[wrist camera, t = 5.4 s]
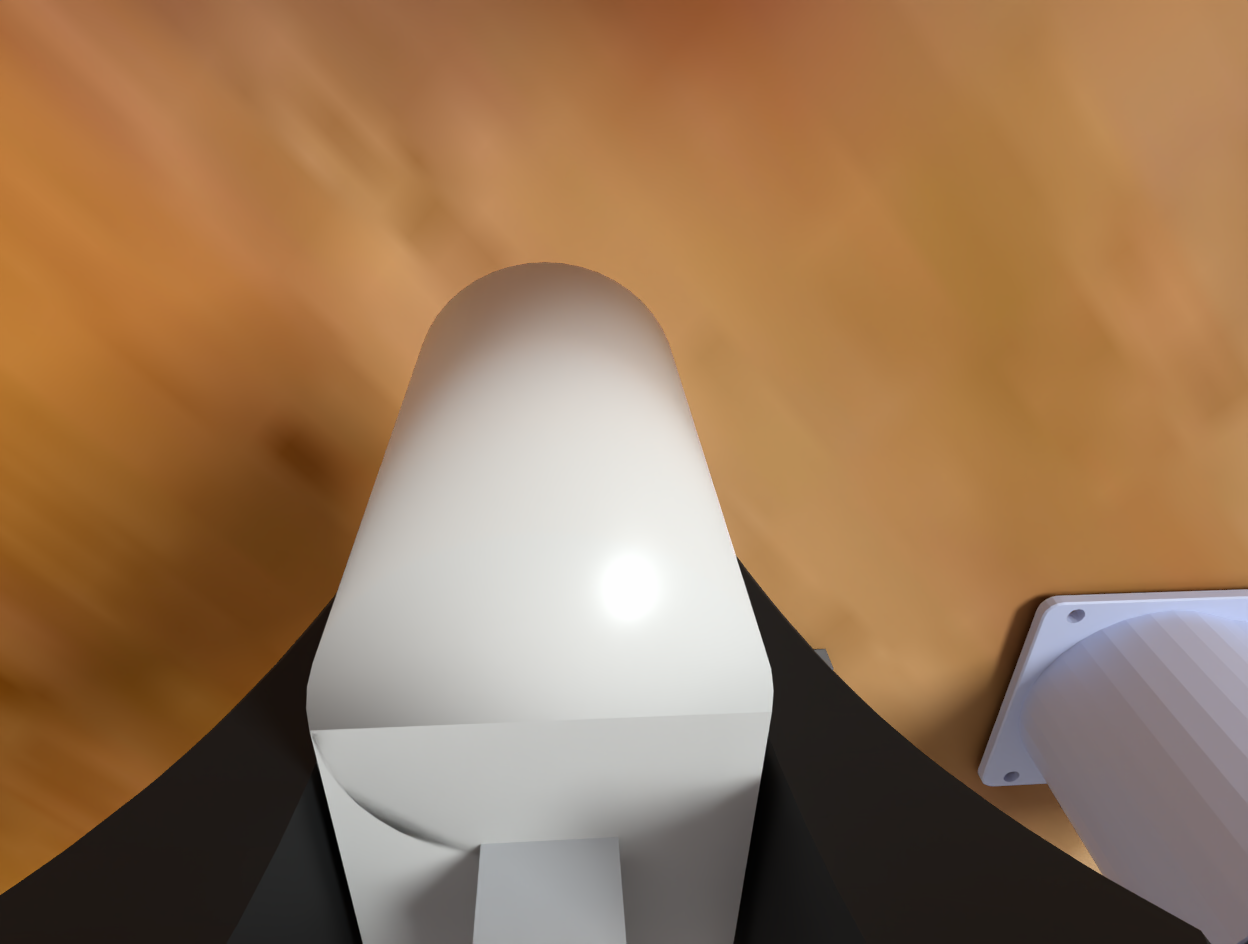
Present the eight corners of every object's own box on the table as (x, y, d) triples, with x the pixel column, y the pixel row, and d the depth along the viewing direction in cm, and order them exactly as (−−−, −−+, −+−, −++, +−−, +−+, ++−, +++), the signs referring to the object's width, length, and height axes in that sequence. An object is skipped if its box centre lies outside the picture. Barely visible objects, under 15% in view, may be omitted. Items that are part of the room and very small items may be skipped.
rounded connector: (683, 263, 11) (847, 626, 5) (654, 721, 15) (721, 1205, 9) (403, 262, 10) (207, 646, 5) (457, 730, 15) (394, 1234, 9)
